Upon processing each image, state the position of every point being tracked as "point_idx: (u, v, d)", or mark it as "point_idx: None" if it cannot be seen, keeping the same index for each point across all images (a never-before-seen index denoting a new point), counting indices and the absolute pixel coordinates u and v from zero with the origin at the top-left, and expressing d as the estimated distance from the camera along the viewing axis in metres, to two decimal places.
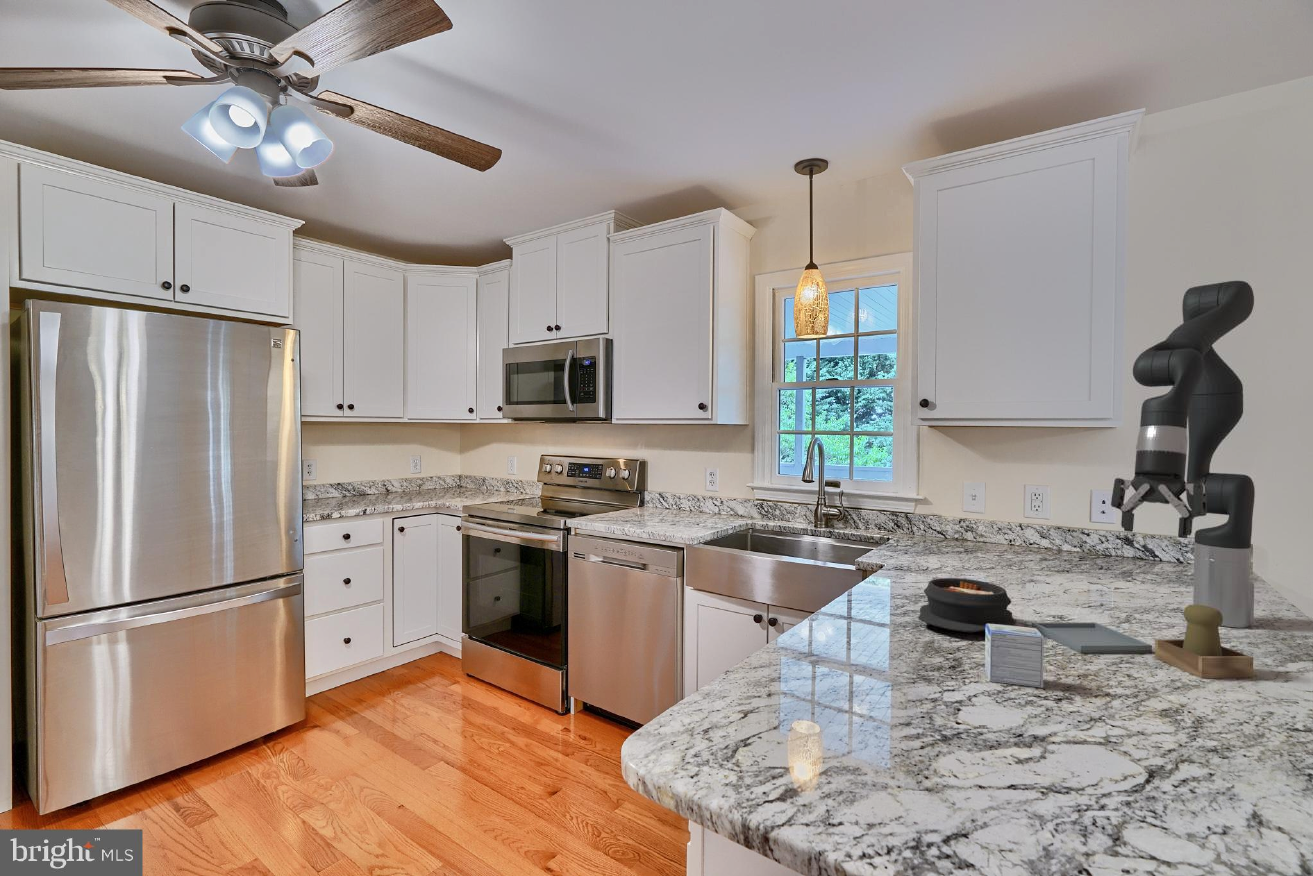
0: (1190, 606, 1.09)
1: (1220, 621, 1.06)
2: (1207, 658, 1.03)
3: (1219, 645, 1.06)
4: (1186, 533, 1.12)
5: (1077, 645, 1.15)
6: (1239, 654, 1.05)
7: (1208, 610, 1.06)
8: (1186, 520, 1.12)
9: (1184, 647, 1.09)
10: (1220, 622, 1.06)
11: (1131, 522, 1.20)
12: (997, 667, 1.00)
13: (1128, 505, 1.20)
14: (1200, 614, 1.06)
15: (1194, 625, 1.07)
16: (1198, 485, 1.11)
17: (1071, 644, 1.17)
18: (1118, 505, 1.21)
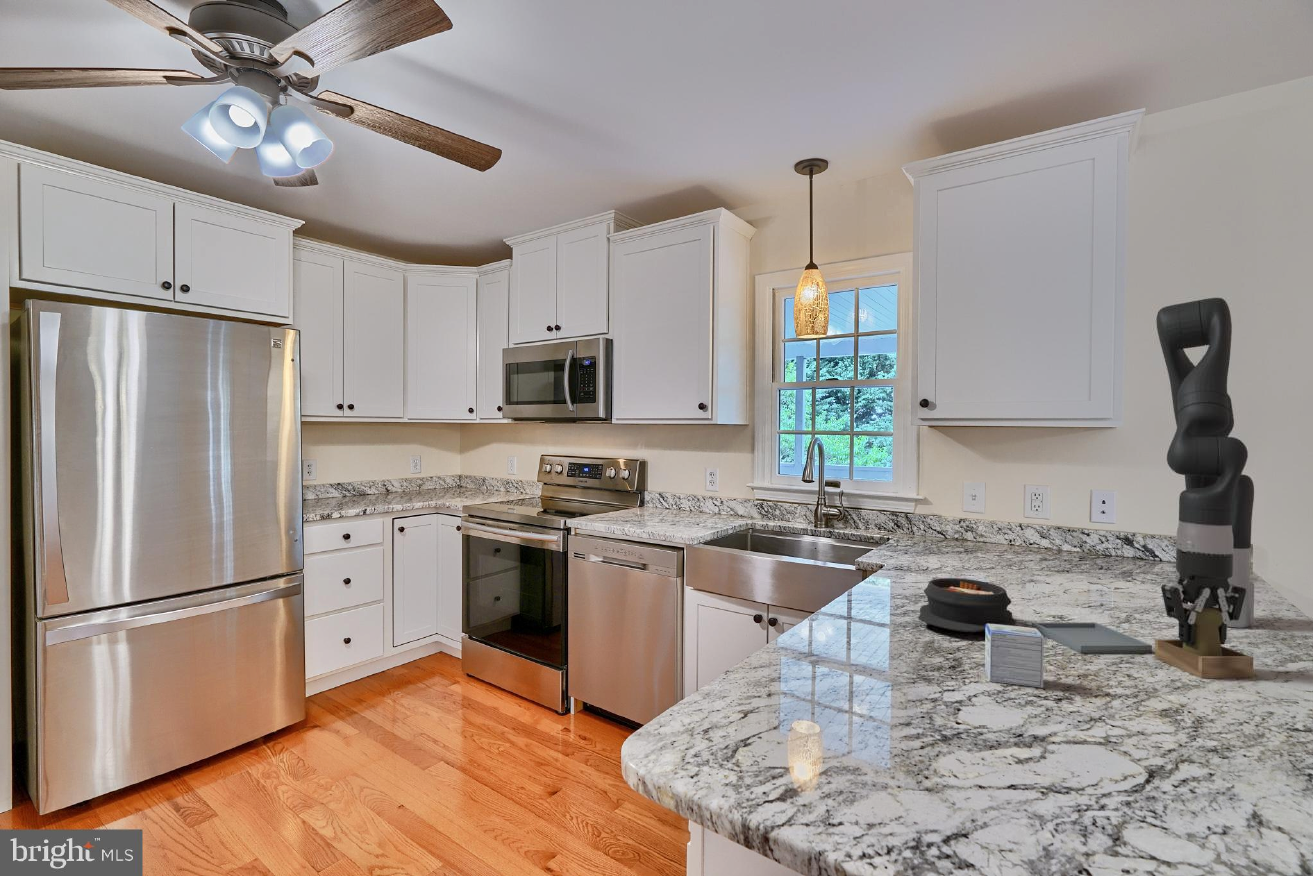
0: None
1: (1220, 621, 1.06)
2: (1207, 658, 1.03)
3: (1219, 645, 1.06)
4: (1224, 639, 1.08)
5: (1077, 645, 1.15)
6: (1239, 654, 1.05)
7: (1208, 610, 1.06)
8: (1224, 626, 1.07)
9: (1184, 647, 1.09)
10: (1220, 622, 1.06)
11: None
12: (997, 667, 1.00)
13: (1193, 616, 1.07)
14: (1200, 614, 1.06)
15: None
16: (1244, 591, 1.07)
17: (1071, 644, 1.17)
18: None
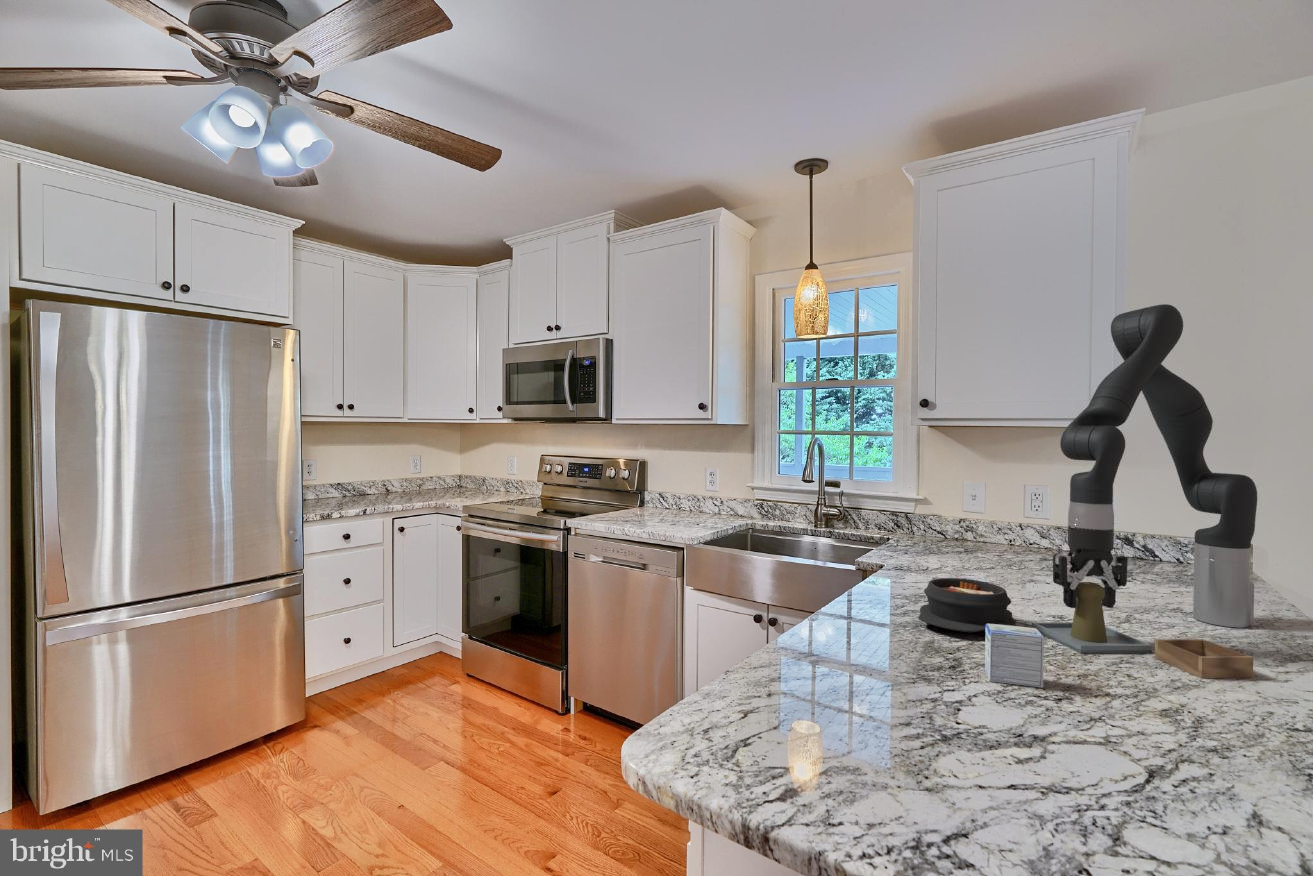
0: None
1: (1102, 595, 1.19)
2: (1207, 658, 1.03)
3: (1102, 617, 1.20)
4: (1113, 603, 1.21)
5: (1077, 645, 1.15)
6: (1239, 654, 1.05)
7: (1092, 586, 1.20)
8: (1113, 591, 1.21)
9: (1073, 619, 1.22)
10: (1102, 596, 1.19)
11: None
12: (997, 667, 1.00)
13: (1075, 582, 1.20)
14: (1085, 589, 1.20)
15: (1081, 599, 1.21)
16: (1125, 559, 1.21)
17: (1071, 644, 1.17)
18: None
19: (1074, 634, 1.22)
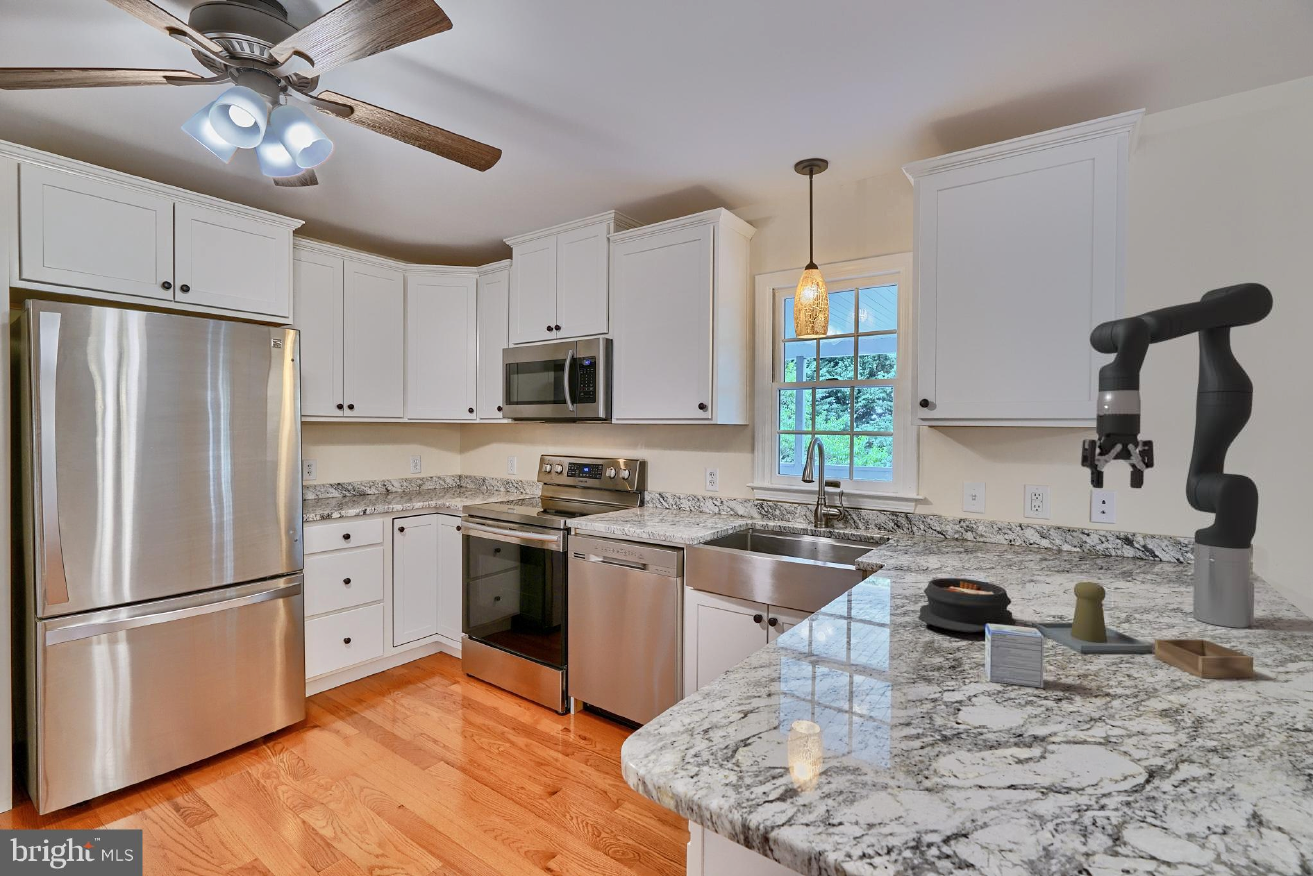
0: (1079, 583, 1.22)
1: (1102, 596, 1.19)
2: (1207, 658, 1.03)
3: (1102, 617, 1.20)
4: (1142, 484, 1.29)
5: (1077, 645, 1.15)
6: (1239, 654, 1.05)
7: (1093, 586, 1.20)
8: (1141, 473, 1.29)
9: (1074, 620, 1.22)
10: (1103, 597, 1.19)
11: None
12: (997, 667, 1.00)
13: (1102, 464, 1.28)
14: (1085, 590, 1.20)
15: (1082, 600, 1.21)
16: (1151, 442, 1.29)
17: (1071, 644, 1.17)
18: None
19: (1074, 634, 1.22)
